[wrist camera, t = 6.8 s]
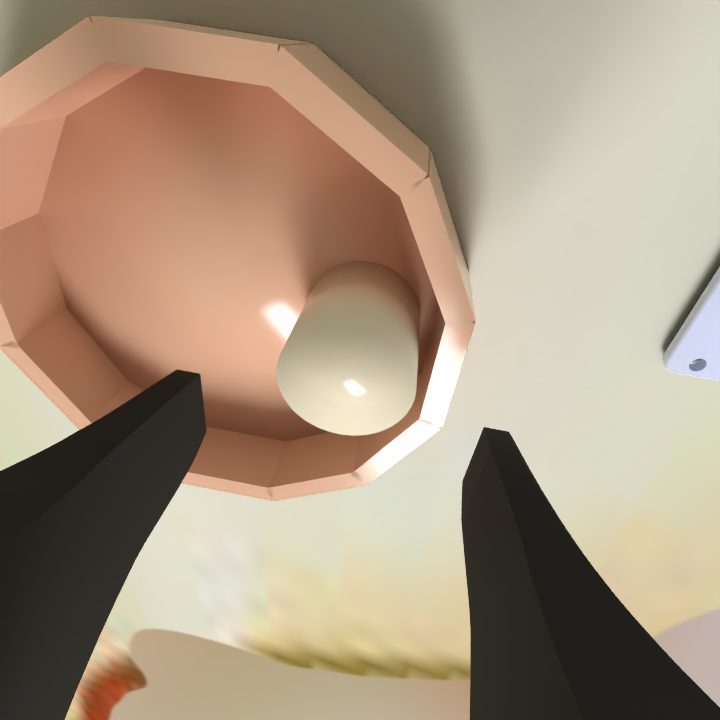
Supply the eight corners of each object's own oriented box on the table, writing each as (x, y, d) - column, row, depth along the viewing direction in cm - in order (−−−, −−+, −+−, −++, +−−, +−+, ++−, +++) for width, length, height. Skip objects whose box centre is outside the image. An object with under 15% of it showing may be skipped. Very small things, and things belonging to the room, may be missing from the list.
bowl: (526, 75, 12) (550, 86, 9) (413, 467, 21) (410, 527, 19) (-38, -11, 13) (-161, -24, 10) (91, 406, 22) (44, 456, 19)
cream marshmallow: (434, 275, 15) (433, 342, 12) (405, 370, 17) (398, 447, 14) (315, 248, 15) (281, 308, 12) (302, 347, 17) (271, 418, 14)
